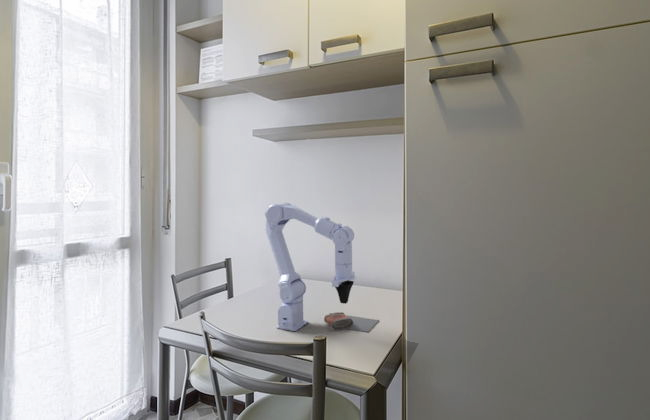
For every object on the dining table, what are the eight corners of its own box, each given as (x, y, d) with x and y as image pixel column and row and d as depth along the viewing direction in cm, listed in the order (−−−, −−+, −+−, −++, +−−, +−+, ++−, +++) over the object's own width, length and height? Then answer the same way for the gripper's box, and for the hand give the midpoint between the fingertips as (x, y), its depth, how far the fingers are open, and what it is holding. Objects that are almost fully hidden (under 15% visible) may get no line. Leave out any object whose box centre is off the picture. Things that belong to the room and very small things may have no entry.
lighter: (331, 321, 126) (321, 312, 136) (332, 331, 126) (321, 321, 136) (352, 317, 129) (341, 308, 138) (353, 326, 129) (341, 317, 139)
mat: (368, 332, 125) (368, 331, 125) (330, 326, 131) (330, 325, 131) (378, 320, 136) (378, 320, 136) (343, 315, 142) (343, 314, 142)
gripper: (346, 268, 116) (346, 310, 116) (362, 259, 129) (362, 298, 129) (325, 266, 119) (326, 308, 120) (343, 258, 132) (344, 295, 133)
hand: (343, 302), depth 125 cm, fingers closed
